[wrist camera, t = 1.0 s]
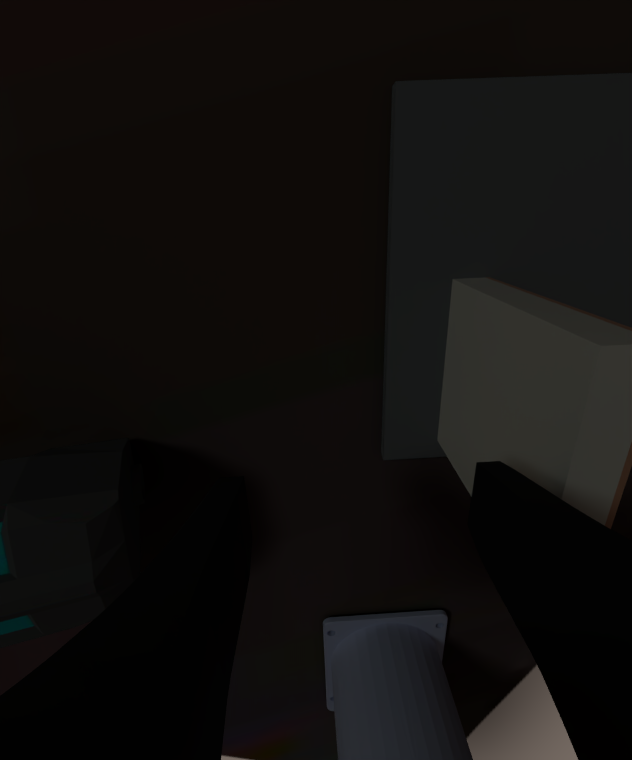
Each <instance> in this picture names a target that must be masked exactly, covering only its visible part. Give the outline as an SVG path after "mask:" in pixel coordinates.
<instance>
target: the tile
mask: <svg viewBox="0 0 632 760" xmlns="http://www.w3.org/2000/svg"><path fill="white" fill-rule="evenodd" d="M437 441H438V442H439V444H440V446H441V447H442V449H443V451H444V452H445V454H446V456H447V457H448V459H449V460H450V462H451V464H452V465H453V467H454V469H455V470H456V472H457V474H458V475H459V477H460V479H461V480H462V482H463V484H464V485H465V487H466V489H467V490H468V492H469V493H470V495H471V497H472V490H473V483H474V476H475V469H476V462H491V461H501V462H503V463H504V464H506V465H508V466H510V467H511V468H513V469H515V470H516V471H518V472H519V473H521V474H523V475H524V476H526V477H527V478H529V479H530V480H532V481H534V482H535V483H537V484H538V485H540V486H541V487H543V488H544V489H546V490H548V491H549V492H551V493H552V494H554V495H555V496H557V497H558V498H560V499H562V500H563V501H565V502H566V503H568V504H570V505H571V506H573V507H574V508H576V509H578V510H579V511H581V512H583V513H584V514H586V515H587V516H589V517H591V518H592V519H594V520H596V521H598V522H599V523H601V524H603V525H604V526H606V527H608V528H610V529H611V527H612V524H613V521H614V518H615V515H616V512H617V509H618V506H619V503H620V500H621V497H622V493H623V490H624V487H625V484H626V481H627V478H628V475H629V472H630V469H631V466H632V328H631V327H628V326H625V325H622V324H620V323H617V322H614V321H611V320H608V319H606V318H603V317H600V316H597V315H594V314H592V313H589V312H586V311H583V310H580V309H578V308H575V307H572V306H569V305H566V304H564V303H561V302H558V301H555V300H552V299H549V298H547V297H544V296H541V295H538V294H535V293H533V292H530V291H527V290H524V289H521V288H519V287H516V286H513V285H510V284H507V283H505V282H502V281H499V280H496V279H493V278H490V277H484V278H463V279H453V280H452V290H451V301H450V312H449V322H448V333H447V343H446V354H445V364H444V375H443V386H442V396H441V407H440V417H439V428H438V438H437Z"/></svg>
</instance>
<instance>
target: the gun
mask: <svg viewBox="0 0 632 760" xmlns="http://www.w3.org/2000/svg"><path fill="white" fill-rule="evenodd" d="M140 504H145V485H144V476H143V469H142V465H141V464H136V465H134V463H133V457H132V451H131V445H130V441H129V438H124V439H117V440H109V441H102V442H95V443H88V444H81V445H74V446H67V447H60V448H53V449H49V450H46V451H43V452H40V453H38V454H35V455H32V456H29V457H22V458H15V459H8V460H1V461H0V648H2V647H6V646H9V645H13V644H17V643H20V642H24V641H27V640H31V639H35V638H38V637H42V636H45V635H49V634H53V633H56V632H59V631H63V630H66V629H70V628H73V627H76V626H79V625H82V624H84V623H87V622H89V621H92V620H94V619H95V618H96V617H97V616H98V615H100V614H101V613H102V612H103V611H104V610H105V609H106V608H107V607H108V606H109V605H110V604H111V603H112V602H113V601H114V600H115V599H116V598H117V597H119V596H120V595H121V594H122V593H123V592H124V591H125V590H126V589H127V588H128V587H129V586H130V585H131V584H132V582H133V581H134V580H135V579H136V578H137V577H138V576H139V575H140V513H139V505H140Z"/></svg>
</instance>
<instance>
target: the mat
mask: <svg viewBox="0 0 632 760" xmlns="http://www.w3.org/2000/svg"><path fill="white" fill-rule="evenodd" d="M484 277H490V278H493V279H496V280H499V281H502V282H505V283H507V284H510V285H513V286H516V287H519V288H521V289H524V290H527V291H530V292H533V293H535V294H538V295H541V296H544V297H547V298H549V299H552V300H555V301H558V302H561V303H564V304H566V305H569V306H572V307H575V308H578V309H580V310H583V311H586V312H589V313H592V314H594V315H597V316H600V317H603V318H606V319H608V320H611V321H614V322H617V323H620V324H622V325H625V326H628V327H631V328H632V73H618V74H589V75H561V76H532V77H504V78H475V79H447V80H418V81H396V82H395V83H394V85H393V86H392V114H391V147H390V181H389V214H388V247H387V280H386V313H385V347H384V380H383V413H382V446H381V454H382V457H383V460H395V459H412V458H429V457H446V454H445V452H444V451H443V449H442V447H441V446H440V444H439V442H438V441H437V438H438V428H439V417H440V407H441V396H442V386H443V375H444V364H445V354H446V343H447V333H448V322H449V312H450V301H451V290H452V280H453V279H463V278H484Z"/></svg>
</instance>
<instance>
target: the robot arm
mask: <svg viewBox="0 0 632 760" xmlns="http://www.w3.org/2000/svg"><path fill="white" fill-rule="evenodd" d="M468 527H469V529H470V532H471V535H472V537H473V540H474V543H475V545H476V548H477V550H478V553H479V555H480V558H481V560H482V562H483V564H484V566H485V568H486V570H487V572H488V574H489V576H490V578H491V579H492V581H493V583H494V585H495V587H496V589H497V591H498V593H499V594H500V596H501V598H502V600H503V602H504V604H505V605H506V607H507V609H508V611H509V613H510V615H511V616H512V618H513V620H514V622H515V624H516V626H517V627H518V629H519V631H520V633H521V635H522V637H523V639H524V640H525V642H526V644H527V646H528V648H529V650H530V651H531V653H532V655H533V657H534V659H535V661H536V663H537V665H538V667H539V669H540V671H541V673H542V675H543V678H544V680H545V682H546V685H547V687H548V689H549V692H550V694H551V696H552V698H553V701H554V703H555V705H556V708H557V710H558V712H559V714H560V717H561V719H562V721H563V724H564V726H565V728H566V731H567V733H568V736H569V738H570V740H571V743H572V745H573V748H574V750H575V752H576V755H577V757H578V760H632V541H631V540H629V539H627V538H625V537H624V536H622V535H620V534H618V533H617V532H615V531H613V530H611V529H610V528H608V527H606V526H604V525H603V524H601V523H599V522H598V521H596V520H594V519H592V518H591V517H589V516H587V515H586V514H584V513H583V512H581V511H579V510H578V509H576V508H574V507H573V506H571V505H570V504H568V503H566V502H565V501H563V500H562V499H560V498H558V497H557V496H555V495H554V494H552V493H551V492H549V491H548V490H546V489H544V488H543V487H541V486H540V485H538V484H537V483H535V482H534V481H532V480H530V479H529V478H527V477H526V476H524V475H523V474H521V473H519V472H518V471H516V470H515V469H513V468H511V467H510V466H508V465H506V464H504V463H503V462H501V461H491V462H476V469H475V476H474V483H473V490H472V497H471V504H470V511H469V518H468ZM251 548H252V533H251V525H250V518H249V511H248V503H247V496H246V488H245V481H244V476H240V477H224V478H219V479H218V480H217V481H216V482H215V484H214V485H213V486H212V488H211V489H210V491H209V492H208V493H207V495H206V496H205V497H204V499H203V500H202V501H201V503H200V504H199V505H198V507H197V508H196V509H195V511H194V512H193V513H192V515H191V516H190V517H189V518H188V520H187V521H186V522H185V523H184V525H183V526H182V527H181V528H180V530H179V531H178V532H177V533H176V534H175V536H174V537H173V538H172V539H171V541H170V542H169V543H168V544H167V545H166V546H165V547H164V549H163V550H162V551H161V552H160V553H159V554H158V555H157V556H156V558H155V559H154V560H153V561H152V562H151V563H150V564H149V565H148V567H147V568H146V569H145V570H144V571H143V572H142V573H141V574H140V575H139V576H138V577H137V578H136V579H135V580H134V581H133V582H132V584H131V585H130V586H129V587H128V588H127V589H126V590H125V591H124V592H123V593H122V594H121V595H120V596H119V597H117V598H116V599H115V600H114V601H113V602H112V603H111V604H110V605H109V606H108V607H107V608H106V609H105V610H104V611H103V612H102V613H101V614H100V615H98V616H97V617H96V618H95V619H94V620H93V621H92V622H91V623H90V624H88V625H87V626H86V627H85V628H84V629H83V630H81V631H80V632H79V633H78V634H77V635H76V636H74V637H73V638H72V639H71V640H70V641H69V642H67V643H66V644H65V645H64V646H63V647H62V648H60V649H59V650H58V651H57V652H56V653H55V654H53V655H52V656H51V657H50V658H49V659H47V660H46V661H45V662H44V663H42V664H41V665H40V666H39V667H37V668H36V669H35V670H33V671H32V672H31V673H30V674H28V675H27V676H26V677H25V678H23V679H22V680H21V681H19V682H18V683H17V684H16V685H14V686H13V687H12V688H10V689H9V690H8V691H6V692H5V693H4V694H2V695H1V696H0V760H221V752H222V743H223V733H224V724H225V714H226V705H227V696H228V690H229V683H230V677H231V671H232V666H233V660H234V655H235V650H236V645H237V639H238V634H239V629H240V624H241V618H242V613H243V608H244V603H245V597H246V592H247V586H248V581H249V573H250V561H251ZM447 621H448V617H447V614H446V612H445V611H443V610H427V611H413V612H398V613H384V614H369V615H355V616H340V617H329V618H326V619H325V620H324V621H323V635H324V656H325V676H326V697H327V708H328V709H329V710H331V711H335V723H336V736H337V749H338V760H473V759H472V755H471V752H470V749H469V746H468V743H467V740H466V737H465V734H464V730H463V727H462V724H461V721H460V718H459V715H458V712H457V709H456V705H455V702H454V699H453V696H452V693H451V690H450V687H449V684H448V680H447V677H446V674H445V671H444V668H443V665H442V659H443V651H444V644H445V636H446V629H447Z"/></svg>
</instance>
